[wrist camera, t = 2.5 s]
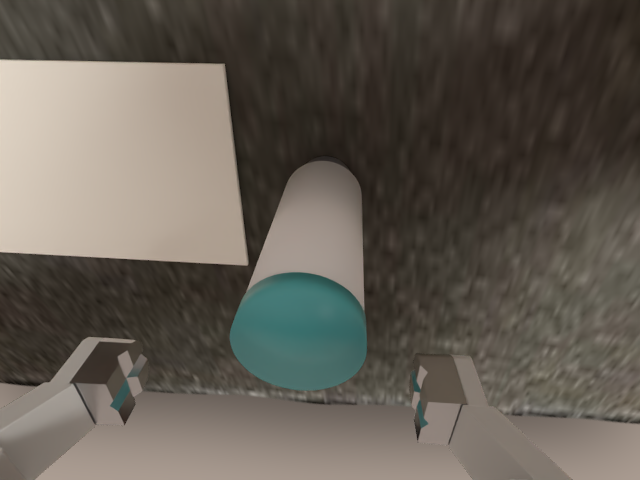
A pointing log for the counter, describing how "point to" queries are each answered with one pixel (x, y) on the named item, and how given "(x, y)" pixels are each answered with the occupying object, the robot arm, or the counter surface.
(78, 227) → the paper
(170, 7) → the counter surface
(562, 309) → the counter surface
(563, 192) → the counter surface
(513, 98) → the counter surface
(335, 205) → the marker
